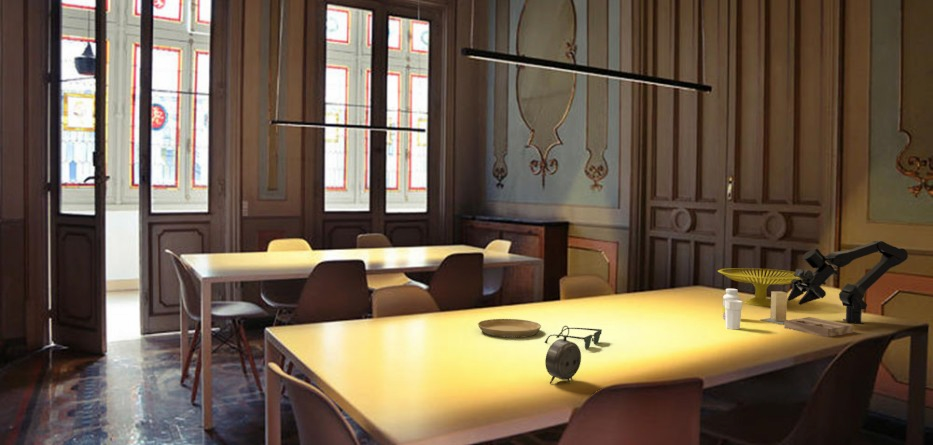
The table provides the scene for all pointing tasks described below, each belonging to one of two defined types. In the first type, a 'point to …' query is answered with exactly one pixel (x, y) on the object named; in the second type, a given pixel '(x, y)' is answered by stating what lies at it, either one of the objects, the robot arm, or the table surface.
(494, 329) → the plant saucer
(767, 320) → the slate mat
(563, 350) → the alarm clock
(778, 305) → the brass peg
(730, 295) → the supplement bottle
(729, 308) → the cup
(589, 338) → the sunglasses
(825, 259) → the robot arm
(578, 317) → the table surface
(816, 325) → the two-hole peg block
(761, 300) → the slatted pedestal fruit bowl
